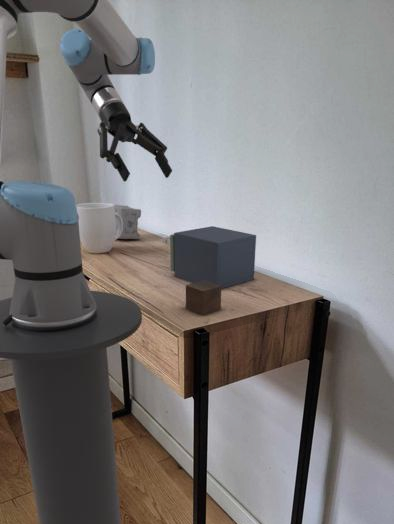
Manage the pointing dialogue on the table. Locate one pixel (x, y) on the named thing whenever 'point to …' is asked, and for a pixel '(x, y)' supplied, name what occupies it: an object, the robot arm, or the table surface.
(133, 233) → the incense holder
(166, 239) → the drawer
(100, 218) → the mug
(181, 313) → the table surface
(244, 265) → the cabinet
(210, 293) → the block
